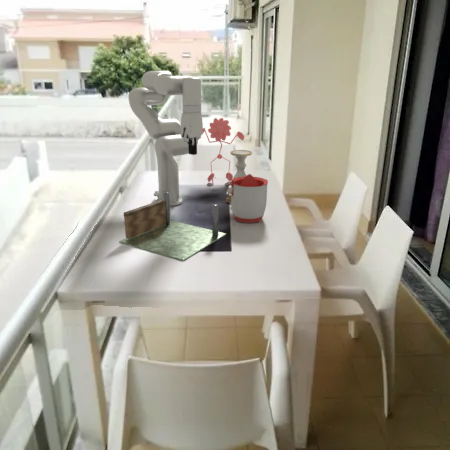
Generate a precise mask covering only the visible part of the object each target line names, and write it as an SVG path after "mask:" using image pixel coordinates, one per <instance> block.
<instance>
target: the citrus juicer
mask: <svg viewBox="0 0 450 450" xmlns="http://www.w3.org/2000/svg"><path fill="white" fill-rule="evenodd" d="M246 175H247V176H245V177H237V178H234V179H232V180H231V181H230V182H231V183H230V186H231V187H229V188H228V189H226V195H229V194H231V203H230V204H231V210H232V215H233V217H234V220H235V221H237V222H239V223H246V224H247V223H248V224H251V223H254V224H255V223H259V222H260V221H262V219H263V217H264V214H265V212H266V206H267V203H268V202H267V200H268V196H267V195H268V184H269V181H268V180H267V179H265V178H263V177H259V176H253V175H252V174H251V173H249V174H246Z"/></svg>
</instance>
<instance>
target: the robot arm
mask: <svg viewBox="0 0 450 450" xmlns="http://www.w3.org/2000/svg"><path fill="white" fill-rule="evenodd" d="M141 84H142V86H140V87H136V88H135V87H134V88H133V89H131V90H130V91H129V93H128V103H129V107H130V109H131V112H132V113H133V114H134V115H135V116H136V118H138V120H139V121H140V122H141V123H142V125H143V126H144V129H145V130H146V133H148V135H149V137H150V138H151V139H152V140H154V144H153V145H154V152H155V155H156V162H157V163H156V164H157V176H158V177H157V178H158V180H157V181H158V190H155V191H154V193H153V196H154V197H157V199H156V200H155V202H157V201H160V200H164V197H163V192H169V197H170V207H175V206H179V205H182V204H183V198H182V197H180V179H179V177H180V176H179V165H178V162H177V161H176V160H175V158H174V157H176V156H184V155H187V154H188V155H192V156H195V155H198V144H199V140H200V139H201V138H202V136H203V134H204V133H203V128H204V127H203V126H204V125H203V116H202V81H201V78H200V77H197V76H190V75H173V74H172V73H171V72H170V71H168V70H149V71H146V72H145V73H144V74H143V75H142V77H141ZM170 96H171V97H172V96H181V97H182V113H181V118H180V120H178V119H176V118H161V117H160V116H159V114H158V113H157V111H156V110H155V109H153V108H151V107H150V106H160V105H164V103H165V102H166V101H167V99H168V97H170Z"/></svg>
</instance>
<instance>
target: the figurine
mask: <svg viewBox="0 0 450 450" xmlns="http://www.w3.org/2000/svg"><path fill="white" fill-rule="evenodd" d="M229 122H230V120H227V119H225V120H224V118H223V117H220V118H219V119H218V118H217V117H214V119H213V122H210V123H209V127H210V128H208V129H207V131H206V128H205V127H203V134H204V133H205V135H206V138H207V141H208V143H217V142H218V143H220V149H219V153H217V156H216V157H215V158H214V159H212V161H211V163H213V162H214V161H215V160H216V159H218V160H220V159H224V160H226V161H228V162H229V164H228V170H230V167H231V161H230V159H229V160H228V159H227V158H225V157H223V155H222V153H221V151H222V147H223V143H225V144H228V145H231V144H232V143H233V142H234V140H235V139H236V138H238V139H239V140H241V141H244V139H245V135H244V134H243V133H242V132H241V131H238V132H237V133H236V135H235V136H234V137H233V139H232V140H231V141H230V142H227V141H226V139H227V137H231V135H232V134H231V130H232V127H231V126H230V125H229ZM207 132H208V133H209V134H210V135H209V136H210V138H211V139H215V140H213V141H210V138H209V136H208V133H207ZM212 167H213V166H212V165H210V171H211V173H210V174H209V175H208V177H207V182H208V183H209V182H212V185H213V186H214V179H215V173H214V172H213V168H212ZM233 177H234V176H233V174H232V173H231V172H230V171H227V172H226V174H225V179H227V181H228V185H231V183H230V182H231V180H232V179H233Z"/></svg>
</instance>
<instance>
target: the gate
mask: <svg viewBox="0 0 450 450" xmlns="http://www.w3.org/2000/svg"><path fill="white" fill-rule="evenodd" d="M165 204H166V201H165V200H160V201H157V202H156V201H154V202H151V203H148V204H146V205H142V206H140V207H136V208H133V209H131V210H127V211H124V212H123V217H124V218H123V220H124V230H125V232H124V234H125V238H127V239H130V238H133V237H135V236H138V235H140V234H143V233H145V232H148V231H150V230H153V229H156V228H158V227H161V226H163V225H166V207H165Z"/></svg>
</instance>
